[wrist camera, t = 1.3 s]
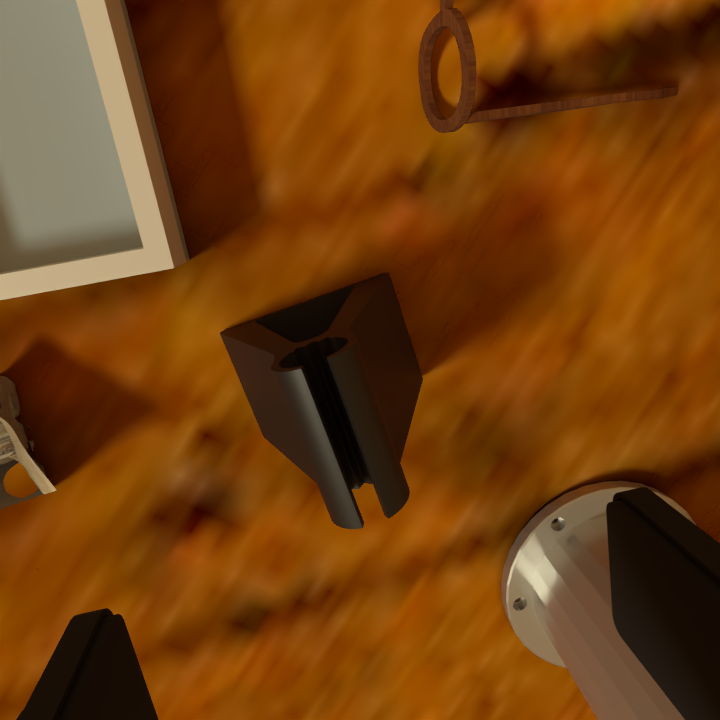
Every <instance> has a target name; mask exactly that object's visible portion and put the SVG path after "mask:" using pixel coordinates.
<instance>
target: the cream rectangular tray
mask: <svg viewBox="0 0 720 720" xmlns="http://www.w3.org/2000/svg"><path fill="white" fill-rule="evenodd" d="M188 260H190V258H189V254H188V250H187V246H186V242H185V238H184V234H183V230H182V226H181V222H180V219H179V215H178V211H177V207H176V203H175V199H174V195H173V191H172V187H171V183H170V179H169V175H168V171H167V167H166V163H165V159H164V155H163V151H162V147H161V143H160V139H159V135H158V131H157V127H156V123H155V119H154V115H153V111H152V107H151V103H150V100H149V96H148V92H147V88H146V84H145V80H144V76H143V72H142V68H141V64H140V60H139V56H138V52H137V48H136V44H135V40H134V36H133V32H132V28H131V24H130V20H129V16H128V12H127V8H126V4H125V0H0V300H4V299H9V298H15V297H20V296H26V295H31V294H36V293H42V292H47V291H53V290H58V289H64V288H69V287H74V286H80V285H85V284H91V283H96V282H102V281H107V280H112V279H118V278H123V277H129V276H134V275H140V274H145V273H150V272H156V271H161V270H167V269H172V268H175V267H177V266H179V265H181V264H183V263H185V262H187V261H188Z"/></svg>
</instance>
